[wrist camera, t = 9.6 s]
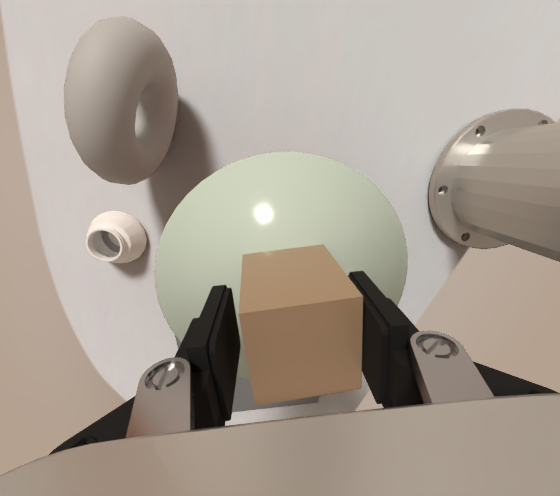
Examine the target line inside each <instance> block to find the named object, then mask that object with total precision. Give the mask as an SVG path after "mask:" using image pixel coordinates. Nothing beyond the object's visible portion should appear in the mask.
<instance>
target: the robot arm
mask: <svg viewBox="0 0 560 496" xmlns="http://www.w3.org/2000/svg"><path fill="white" fill-rule="evenodd" d="M438 190H439V191H438ZM429 206H430V210H431V213H432V217H433V219H434V221H435V223H436V225H437V226H438V228H439V229H440V230H441V231H442V232H443V233H444V234H445V235H446V236H447V237H449V238H450V239H452V240H453V241H455V242H458V243H460V244H462V245H465V246H468V247H472V248H480V249H488V248H497V247H500V246H504V245H507V244H511V245H514V246H516V247H519V248H522V249H525V250H528V251H531V252H533V253H537V254H539V255H542V256H545V257H548V258H550V259H553V260H556V261H559V262H560V123H555V122H554V121H553V120H552V119H551V118H550V117H548V116H546V115H544V114H542V113H541V112H538V111H534V110H530V109H509V110H504V111H499V112H495V113H492V114H489V115H485V116H483V117H482V118H480V119H478V120H476V121H474V122H472V123H471V124H469V125H468V126H467V127H465V128H464V129H463V130H461V131H460V132H459V133H458V134H457V135H456V136H455V137H454V138H453V139H452V140H451V141H450V142H449V144H448V145H447V147H446V148H445V149H444V151H443V152H442V154H441V155H440V157H439V159H438V161H437V163H436V165H435V167H434V171H433V174H432V177H431V180H430V187H429ZM348 277H349V278H350V280H351V281H352V282H353V284H354V285H355V286H356V288H357V289H358V290H359V292H360V293H361V294H362V295H363V329H362V372H363V374H364V376H365V379H366V381H367V383H368V385H369V387H370V390H371V392H372V394H373V396H374V399H375V401H376V403H377V404H382V405H383V407H384V408H382V409H372V410H363V411H353V412H344V413H335V414H326V415H317V416H308V417H299V418H290V419H281V420H273V421H264V422H255V423H247V424H238V425H230V426H225V421H229V420H230V419H231V414H232V407H233V400H234V393H235V385H236V378H237V371H238V363H239V356H240V348H241V343H240V336H239V330H238V324H237V318H236V311H235V305H234V299H233V293H232V289H231V288H227V286H226V285H218V286H212V288H211V291H210V293H209V295H208V298H207V300H206V302H205V305H204V307H203V310H202V312H201V314H200V317H199V318H193V319H192V321H191V323H190V325H189V327H188V330H187V332H186V334H185V336H184V338H183V340H182V343H181V345H180V347H179V349H178V351H177V353H176V356H175V357H174V358H168V359H165V360H162V361H159V362H158V363H156V364H154V365H152V366H151V367H150V368H149V369H147V370H146V371H145V373H144V374H143V375H142V376H141V378H140V381H139V384H138V388H137V392H136V396H135V397H133V398H132V399H130V400H128V401H127V402H125V403H124V404H122V405H121V406H119V407H118V408H116V409H115V410H113V411H111V412H110V413H108V414H107V415H105V416H104V417H102V418H101V419H99V420H98V421H96V422H94V423H93V424H91V425H90V426H88V427H87V428H85V429H84V430H82V431H81V432H79V433H77V434H76V435H74V436H73V437H71V438H70V439H68V440H67V441H65V442H64V443H62V444H61V445H60V446H58V447H57V448H56V449H54V450H53V451H52V452H51V453H50V454H49V455H48V456H45V457H41V458H38V459H36V460H34V461H31V462H29V463H27V464H24V465H22V466H20V467H17V468H15V469H13V470H10V471H8V472H6V473H4V474H2V475H0V496H560V393H558V392H556V391H553V390H551V389H548V388H546V387H543V386H540V385H537V384H535V383H532V382H529V381H526V380H523V379H520V378H518V377H515V376H512V375H509V374H506V373H504V372H501V371H498V370H495V369H493V368H489V367H487V366H484V365H481V364H478V363H476V362H473V361H472V360H471V358H470V357H469V355H468V353H467V352H466V350H465V349H464V347H463V346H462V345H461V344H460V343H459V342H458V341H457V340H456V339H454V338H453V337H451V336H449V335H446V334H443V333H440V332H436V331H420V332H419V330H418V329H417V328H416V327H415V326H414V325H413V324H412V323H411V321H410V320H409V319H408V318H407V317H406V316H405V315H404V313H403V312H402V311H401V310H400V309H399V308H398V307H397V306H396V304H395V303H394V302H393V301H392V300H391V299H390V298H386V297H385V295H384V294H383V293H382V292H381V291H380V290H379V288H378V287H377V286H376V285H375V284H374V283H373V281H372V280H371V279H370V278H369V277H368V276H367V274H366V273H365V272H364V271H354V272H349V275H348Z"/></svg>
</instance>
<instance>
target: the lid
mask: <svg viewBox="0 0 560 496" xmlns="http://www.w3.org/2000/svg"><path fill="white" fill-rule="evenodd" d="M407 260H408V254H407V246H406V239H405V235H404V232H403V228H402V225H401V223H400V220H399V218H398V216H397V214H396V211H395V210H394V208H393V207H392V205H391V204H390V202H389V200H388V199H387V197H386V196H385V195H384V194H383V193H382V192H381V191H380V190H379V188H378V187H377V186H376V185H375V184H373V183H372V182H371V181H370V180H369V179H367V178H366V177H365V176H364V175H363V174H361V173H359V172H358V171H356V170H354V169H353V168H351V167H349V166H348V165H345V164H343V163H341V162H338V161H336V160H333V159H331V158H327V157H323V156H320V155H316V154H310V153H301V152H291V151H288V152H269V153H264V154H258V155H253V156H250V157H247V158H244V159H241V160H237V161H235V162H233V163H231V164H229V165H227V166H225V167H223V168H221V169H219V170H218V171H216V172H215V173H213V174H212V175H210V176H209V177H207V178H206V179H204V180H203V181H201V182H200V183H199V184H198V185H197V186H196V187H195V188H194V189H193V190H191V191H190V192H189V193H188V194H187V195H186V197H185V198H184V199H183V200H182V201H181V203H180V204H179V205H178V206H177V207H176V209H175V210H174V212H173V214H172V215H171V217H170V219H169V220H168V222H167V224H166V226H165V228H164V231H163V233H162V236H161V238H160V241H159V245H158V249H157V253H156V260H155V271H154V273H155V288H156V293H157V297H158V302H159V305H160V307H161V310H162V313H163V315H164V317H165V319H166V321H167V323H168V325H169V326H170V328H171V330H172V331H173V332H174V334H175V335H176V336H177V338H178V339H179V340H180V342H181V343H182V340H183V338H184V336H185V334H186V332H187V330H188V327H189V325H190V323H191V321H192V319H193V318H199V317H200V314H201V312H202V310H203V307H204V305H205V302H206V300H207V298H208V295H209V293H210V291H211V288H212V286H218V285H226V286H227V288H231V289H232V293H233V299H234V305H235V311H236V318H237V324H238V330H239V336H240V343H241V348H240V356H239V363H238V371H237V377H241V378H246V379H250V381H251V387H252V392H253V398H254V404H255V406H259V405H265V404H271V403H277V402H283V401H289V400H295V399H301V398H307V397H314V396H320V395H326V394H332V393H338V392H344V391H350V390H356V389H361V380H362V329H363V295H362V294H361V293H360V292H359V290H358V289H357V288H356V286H355V285H354V284H353V282H352V281H351V280H350V278H349V277H348V275H349V272H354V271H364V272H365V273H366V274H367V276H368V277H369V278H370V279H371V280H372V281H373V283H374V284H375V285H376V286H377V287H378V288H379V290H380V291H381V292H382V293H383V294H384V295H385V297H386V298H390V299H391V300H392V301H393V302H394V303H395V304H396V306H397V305H398V303H399V301H400V298H401V296H402V292H403V289H404V285H405V281H406V274H407Z"/></svg>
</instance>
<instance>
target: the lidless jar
mask: <svg viewBox="0 0 560 496" xmlns="http://www.w3.org/2000/svg"><path fill="white" fill-rule="evenodd" d="M102 231H107V232H109V238H110V240H111V241H112V242H113V243H114V244H115V245H117V246H120V252H119V253H116V252H114V251H112V250H111V249H109V248H108V247H107V246H106V244H105V243H104V242H103V239H102V236H101V232H102ZM146 242H147V238H146V234H145V230H144V229H143V227H142V226H141V224H140V223H139V222H138V220H136V219H135V218H133V217H132V216H131V215H129V214H127V213H123V212H120V211H109V212H104V213H102V214H100V215H99V216H97V217H95V218H94V220H93V221H92V223H91V224H90V226H89V229H88V233H87V237H86V247H87V249H88V251H89V253H90V254H91V255H92V256H93V257H95V258H96V259H98V260H101V261H105V262H112V263H128V262H131V261H133V260H135V259H137V258H139V257H140V256H141V254H142V253H143V251H144V250H145V248H146Z"/></svg>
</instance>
